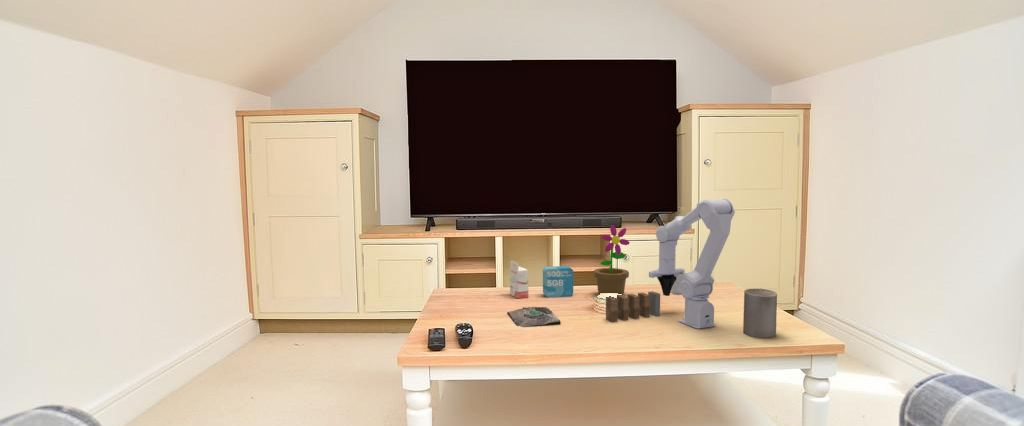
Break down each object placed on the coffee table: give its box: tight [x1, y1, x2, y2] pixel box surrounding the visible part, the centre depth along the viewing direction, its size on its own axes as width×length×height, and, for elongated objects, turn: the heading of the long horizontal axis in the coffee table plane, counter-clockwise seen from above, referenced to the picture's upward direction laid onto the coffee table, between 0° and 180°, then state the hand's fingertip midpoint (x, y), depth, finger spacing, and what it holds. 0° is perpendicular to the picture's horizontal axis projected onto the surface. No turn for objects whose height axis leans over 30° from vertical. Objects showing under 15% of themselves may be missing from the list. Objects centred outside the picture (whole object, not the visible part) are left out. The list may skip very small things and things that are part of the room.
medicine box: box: [671, 271, 691, 295], centre depth 229 cm, size 8×4×9 cm, turn 84°
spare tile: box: [647, 290, 661, 317], centre depth 198 cm, size 4×2×8 cm, turn 23°
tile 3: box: [626, 293, 640, 320], centre depth 195 cm, size 4×2×8 cm, turn 22°
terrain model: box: [506, 306, 562, 328], centre depth 195 cm, size 20×15×3 cm
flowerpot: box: [593, 224, 631, 296], centre depth 225 cm, size 14×14×30 cm
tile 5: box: [605, 296, 619, 323], centre depth 191 cm, size 4×2×8 cm, turn 22°
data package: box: [542, 265, 574, 298], centre depth 226 cm, size 12×4×12 cm, turn 99°
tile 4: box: [617, 295, 629, 322], centre depth 193 cm, size 4×2×8 cm, turn 23°
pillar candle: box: [742, 287, 778, 339], centre depth 175 cm, size 10×10×15 cm
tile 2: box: [637, 292, 651, 319], centre depth 196 cm, size 4×2×8 cm, turn 22°
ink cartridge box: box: [509, 260, 529, 299], centre depth 226 cm, size 9×5×15 cm, turn 25°
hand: (666, 295), depth 200 cm, fingers closed
